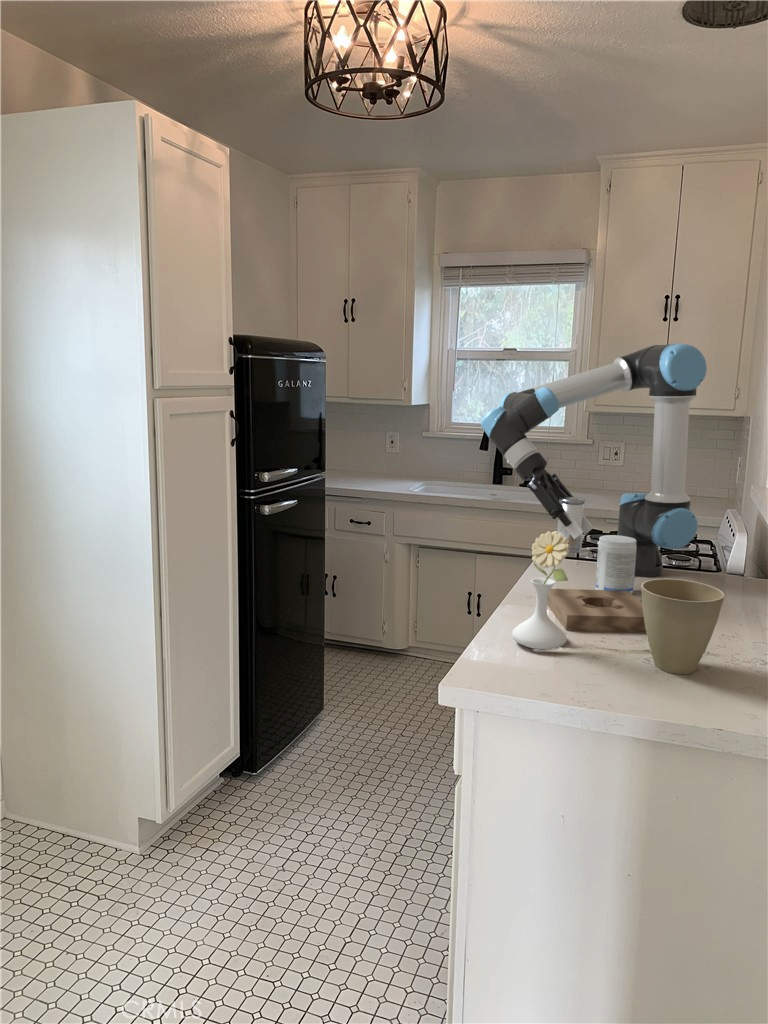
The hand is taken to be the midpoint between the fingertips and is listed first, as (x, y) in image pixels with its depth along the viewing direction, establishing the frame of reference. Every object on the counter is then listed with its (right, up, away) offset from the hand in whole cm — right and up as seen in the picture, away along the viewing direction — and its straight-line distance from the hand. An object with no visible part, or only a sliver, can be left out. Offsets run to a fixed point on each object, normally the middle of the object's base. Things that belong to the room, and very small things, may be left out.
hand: (584, 533), depth 180 cm
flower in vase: (-16, -23, -26) cm, 38 cm away
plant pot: (+8, -25, -35) cm, 44 cm away
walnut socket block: (+1, -20, -9) cm, 22 cm away
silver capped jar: (-3, -4, +3) cm, 6 cm away
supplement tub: (+12, -16, +14) cm, 25 cm away
